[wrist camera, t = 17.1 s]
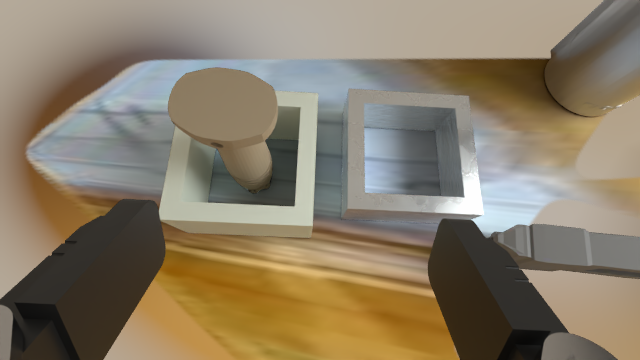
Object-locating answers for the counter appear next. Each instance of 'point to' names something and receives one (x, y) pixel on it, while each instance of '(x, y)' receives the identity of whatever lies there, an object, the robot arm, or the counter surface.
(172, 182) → the cradle block
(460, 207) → the bore block
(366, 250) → the counter surface
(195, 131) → the handle
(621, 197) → the counter surface
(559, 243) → the tapered grey rod
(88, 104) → the counter surface
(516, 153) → the counter surface
